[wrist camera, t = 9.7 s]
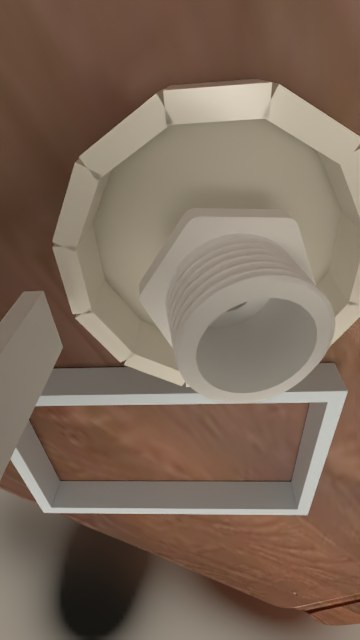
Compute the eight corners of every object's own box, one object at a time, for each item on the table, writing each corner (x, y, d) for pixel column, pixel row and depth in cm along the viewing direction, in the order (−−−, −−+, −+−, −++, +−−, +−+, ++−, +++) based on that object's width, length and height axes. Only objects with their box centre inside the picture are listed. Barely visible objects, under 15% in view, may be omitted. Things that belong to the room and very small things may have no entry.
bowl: (47, 94, 15) (7, 101, 12) (389, 68, 14) (444, 69, 11) (108, 345, 23) (94, 388, 20) (324, 340, 22) (345, 384, 19)
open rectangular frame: (-10, 370, 25) (-29, 396, 23) (334, 362, 23) (347, 391, 21) (52, 486, 34) (43, 512, 32) (300, 487, 33) (307, 515, 30)
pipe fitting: (117, 274, 18) (113, 391, 11) (197, 143, 15) (254, 199, 8) (215, 322, 20) (258, 439, 14) (300, 219, 17) (406, 307, 11)
